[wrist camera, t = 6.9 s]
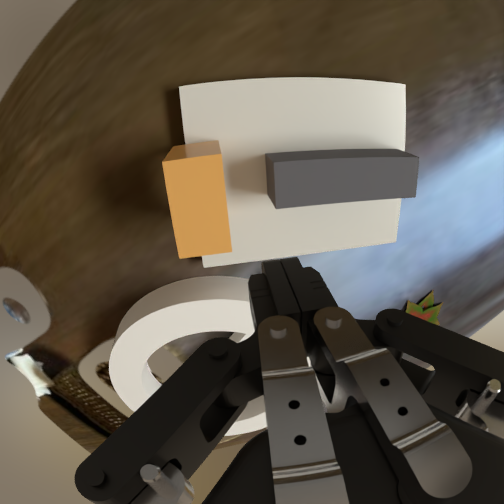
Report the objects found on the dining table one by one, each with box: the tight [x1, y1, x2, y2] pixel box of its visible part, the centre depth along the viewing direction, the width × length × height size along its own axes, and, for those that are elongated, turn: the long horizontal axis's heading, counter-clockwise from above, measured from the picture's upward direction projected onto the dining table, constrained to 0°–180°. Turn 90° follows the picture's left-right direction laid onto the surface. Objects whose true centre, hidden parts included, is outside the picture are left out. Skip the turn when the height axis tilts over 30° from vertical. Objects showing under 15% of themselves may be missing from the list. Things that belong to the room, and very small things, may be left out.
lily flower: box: [406, 291, 443, 325], centre depth 42 cm, size 12×12×5 cm
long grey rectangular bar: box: [265, 149, 419, 209], centre depth 27 cm, size 4×14×4 cm, turn 94°
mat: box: [179, 77, 406, 268], centre depth 30 cm, size 18×22×2 cm
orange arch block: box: [162, 140, 232, 259], centre depth 25 cm, size 7×4×7 cm, turn 4°
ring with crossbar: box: [109, 276, 311, 436], centre depth 39 cm, size 28×28×5 cm
